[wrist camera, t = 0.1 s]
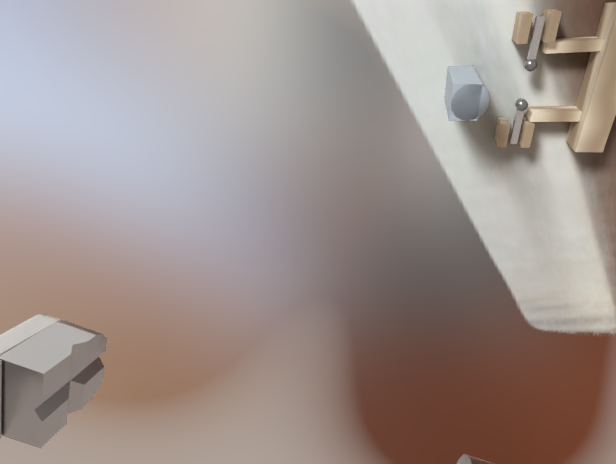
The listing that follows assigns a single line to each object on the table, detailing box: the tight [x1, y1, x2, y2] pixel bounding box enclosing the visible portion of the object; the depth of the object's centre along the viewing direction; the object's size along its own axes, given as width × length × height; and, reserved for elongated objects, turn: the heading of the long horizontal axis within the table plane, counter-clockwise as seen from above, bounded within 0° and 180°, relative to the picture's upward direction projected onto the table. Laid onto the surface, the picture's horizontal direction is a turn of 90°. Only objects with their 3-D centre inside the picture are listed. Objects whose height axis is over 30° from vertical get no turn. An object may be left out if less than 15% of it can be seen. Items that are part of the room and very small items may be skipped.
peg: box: [445, 65, 490, 121], centre depth 47 cm, size 4×4×10 cm
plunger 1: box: [510, 99, 528, 144], centre depth 49 cm, size 1×6×1 cm, turn 4°
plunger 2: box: [523, 16, 545, 71], centre depth 44 cm, size 1×6×1 cm, turn 4°
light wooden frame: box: [494, 2, 616, 152], centre depth 47 cm, size 12×16×4 cm
